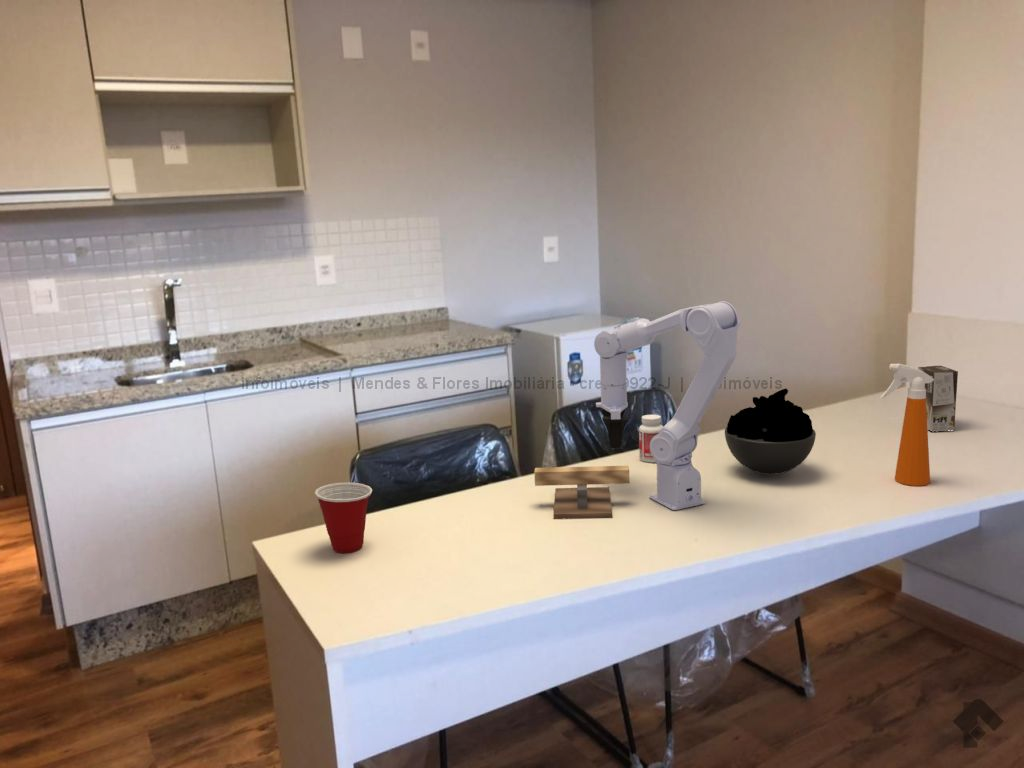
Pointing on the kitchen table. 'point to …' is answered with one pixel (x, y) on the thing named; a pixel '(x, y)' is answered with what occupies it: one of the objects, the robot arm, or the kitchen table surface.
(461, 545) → the kitchen table surface
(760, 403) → the bowl of black rocks
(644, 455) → the pill bottle
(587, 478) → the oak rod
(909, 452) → the spray bottle
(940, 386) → the coffee box
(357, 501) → the plastic cup
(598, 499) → the ridge stand
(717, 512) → the kitchen table surface
